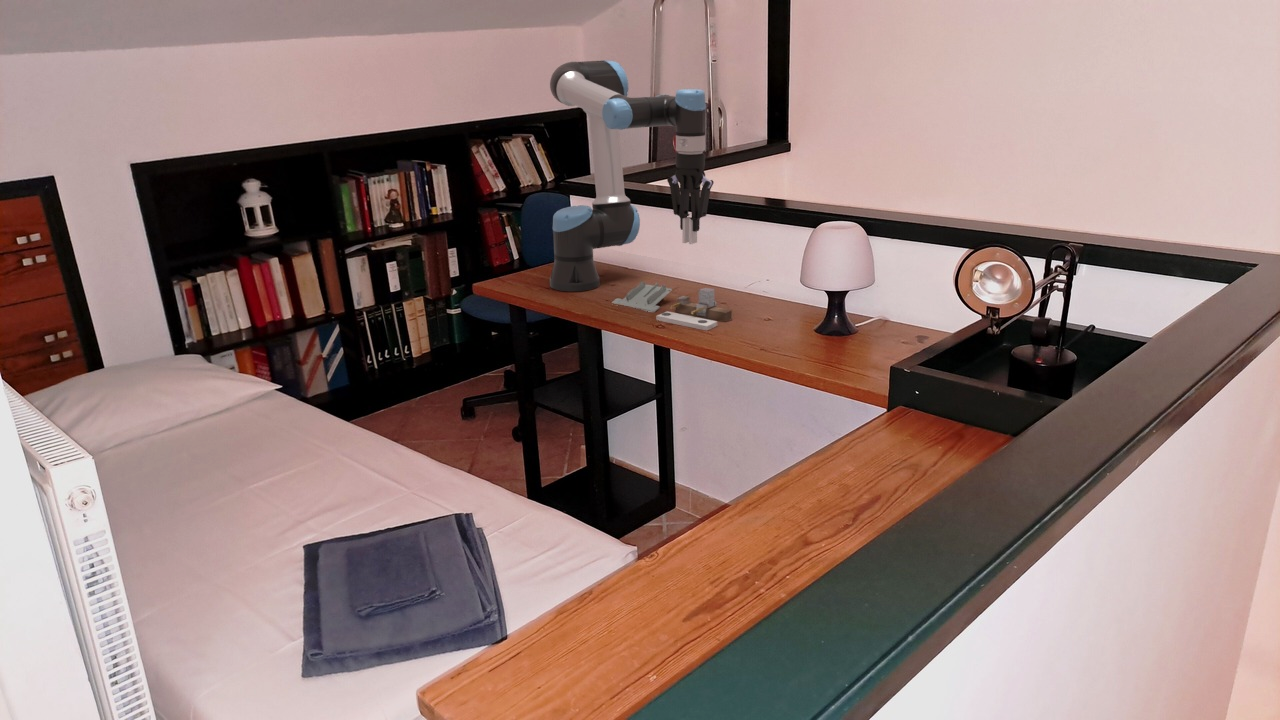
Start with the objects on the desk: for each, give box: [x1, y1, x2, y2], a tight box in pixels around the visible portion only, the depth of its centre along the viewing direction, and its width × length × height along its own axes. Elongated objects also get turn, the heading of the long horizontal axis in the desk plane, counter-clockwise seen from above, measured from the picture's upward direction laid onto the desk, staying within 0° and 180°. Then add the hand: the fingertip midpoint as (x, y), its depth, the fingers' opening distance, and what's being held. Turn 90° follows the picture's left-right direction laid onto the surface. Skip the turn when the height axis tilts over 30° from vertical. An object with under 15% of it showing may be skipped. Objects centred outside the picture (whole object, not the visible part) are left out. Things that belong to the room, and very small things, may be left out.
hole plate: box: [655, 311, 718, 331], centre depth 240 cm, size 16×5×1 cm, turn 53°
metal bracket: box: [611, 280, 673, 313], centre depth 258 cm, size 14×6×15 cm
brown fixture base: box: [669, 295, 733, 323], centre depth 244 cm, size 16×7×4 cm, turn 53°
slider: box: [691, 287, 717, 317], centre depth 242 cm, size 3×9×7 cm, turn 143°
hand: (689, 242), depth 242 cm, fingers closed
